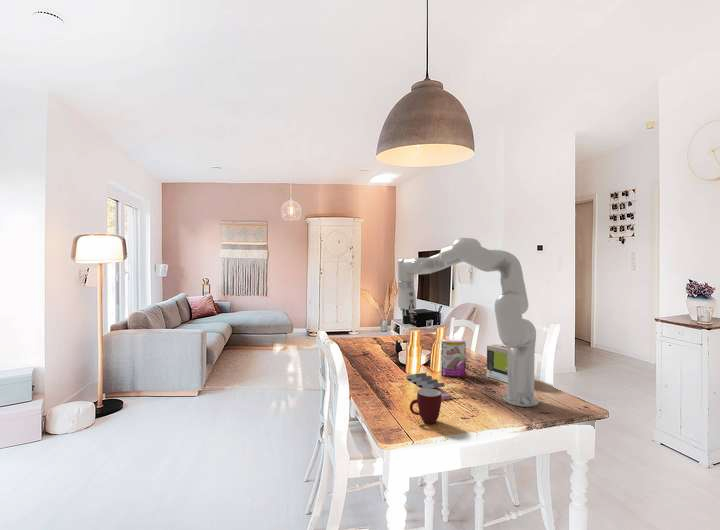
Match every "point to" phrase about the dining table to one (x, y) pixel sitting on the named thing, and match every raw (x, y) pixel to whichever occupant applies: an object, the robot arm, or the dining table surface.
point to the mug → (428, 405)
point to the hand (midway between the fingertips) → (406, 323)
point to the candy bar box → (453, 357)
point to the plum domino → (443, 393)
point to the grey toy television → (497, 362)
